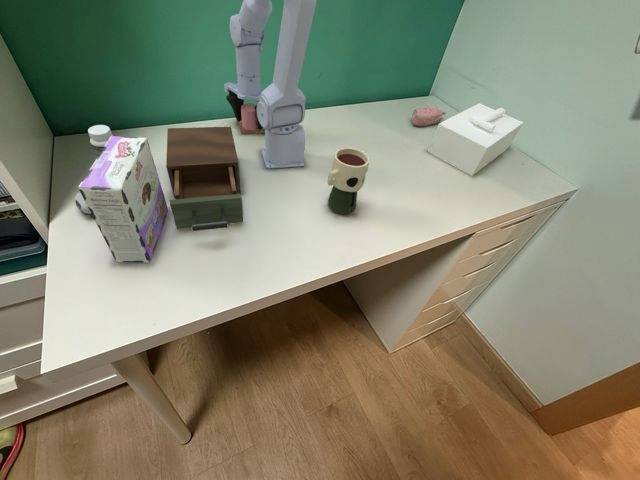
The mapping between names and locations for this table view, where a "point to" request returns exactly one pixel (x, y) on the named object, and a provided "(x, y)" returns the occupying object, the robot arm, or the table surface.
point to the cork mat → (244, 131)
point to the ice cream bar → (426, 116)
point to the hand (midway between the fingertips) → (250, 124)
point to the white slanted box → (474, 137)
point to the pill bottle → (99, 137)
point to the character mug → (346, 178)
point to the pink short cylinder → (249, 116)
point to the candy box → (126, 198)
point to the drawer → (206, 198)
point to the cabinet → (201, 150)
